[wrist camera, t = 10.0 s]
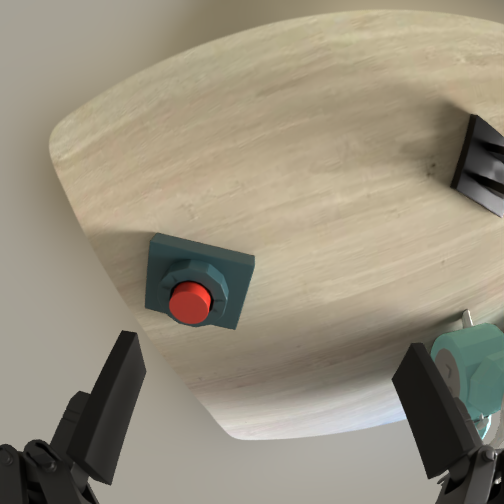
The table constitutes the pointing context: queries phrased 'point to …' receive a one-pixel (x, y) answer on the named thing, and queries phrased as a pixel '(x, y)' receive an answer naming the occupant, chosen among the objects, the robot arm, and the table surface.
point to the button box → (198, 277)
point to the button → (190, 302)
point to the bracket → (482, 166)
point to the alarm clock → (474, 371)
